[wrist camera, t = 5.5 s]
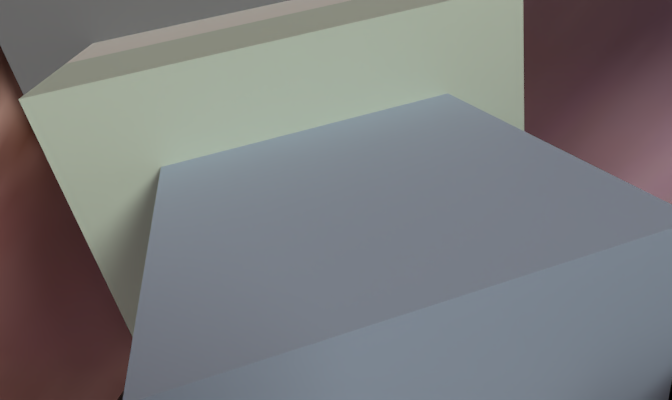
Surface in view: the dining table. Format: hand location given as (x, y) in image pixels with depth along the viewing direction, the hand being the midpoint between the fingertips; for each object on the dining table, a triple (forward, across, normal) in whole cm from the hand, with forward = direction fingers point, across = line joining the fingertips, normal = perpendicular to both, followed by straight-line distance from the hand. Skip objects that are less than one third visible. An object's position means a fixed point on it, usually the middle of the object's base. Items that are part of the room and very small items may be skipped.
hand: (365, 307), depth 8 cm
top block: (+2, 0, 0) cm, 2 cm away
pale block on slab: (+8, 0, 0) cm, 8 cm away
